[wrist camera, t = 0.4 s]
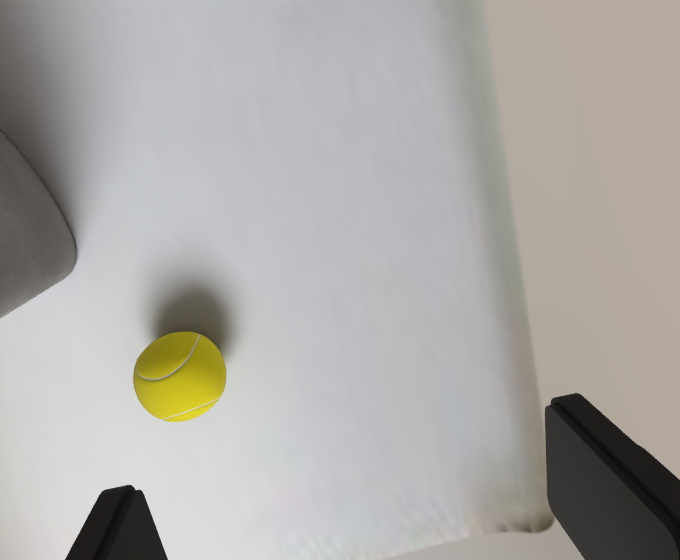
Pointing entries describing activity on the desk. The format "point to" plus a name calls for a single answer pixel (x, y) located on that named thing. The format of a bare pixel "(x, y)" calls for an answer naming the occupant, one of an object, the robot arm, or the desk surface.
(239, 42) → the desk surface
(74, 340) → the desk surface
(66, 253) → the flask
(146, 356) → the tennis ball
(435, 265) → the desk surface
